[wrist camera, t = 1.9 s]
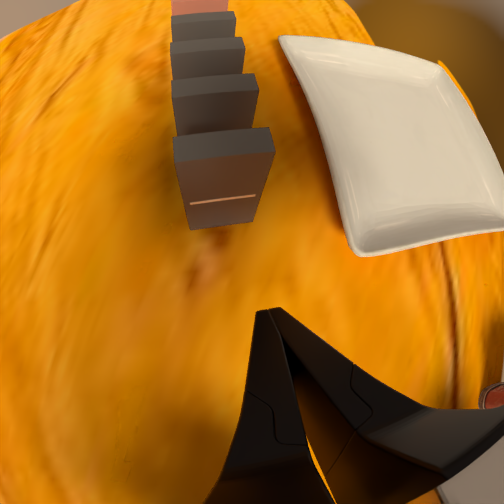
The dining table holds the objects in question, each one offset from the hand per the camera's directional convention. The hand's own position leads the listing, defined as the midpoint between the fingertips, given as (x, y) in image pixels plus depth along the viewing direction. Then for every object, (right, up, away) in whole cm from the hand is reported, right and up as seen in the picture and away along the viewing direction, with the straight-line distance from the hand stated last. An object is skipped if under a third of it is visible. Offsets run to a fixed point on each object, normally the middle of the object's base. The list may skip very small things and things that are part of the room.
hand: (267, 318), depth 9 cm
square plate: (+18, +16, +20) cm, 31 cm away
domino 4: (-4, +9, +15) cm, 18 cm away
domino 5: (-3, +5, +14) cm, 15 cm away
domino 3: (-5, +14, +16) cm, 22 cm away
